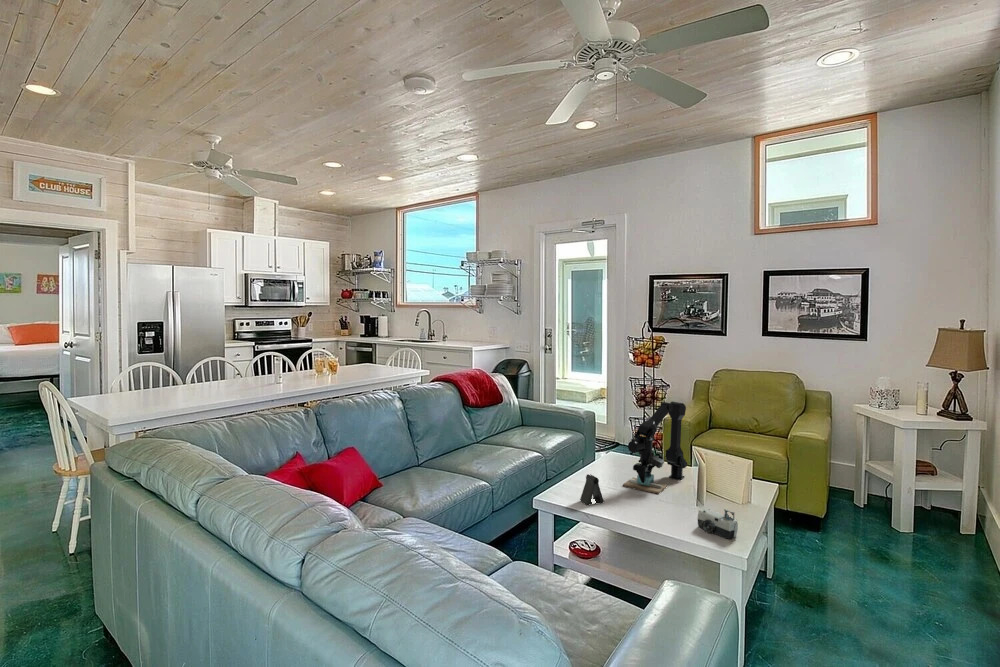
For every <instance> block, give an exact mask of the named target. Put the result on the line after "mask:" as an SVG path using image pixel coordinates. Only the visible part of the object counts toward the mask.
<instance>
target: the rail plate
mask: <svg viewBox="0 0 1000 667" xmlns="http://www.w3.org/2000/svg"><path fill="white" fill-rule="evenodd" d="M624 486H626V487H625V488H628V487H630V488H629V489H633V488H635V489H634V490H637V489H639V490H638V491H641V490H644V491H643V492H646V491H648V492H647V493H650V492H653V493H652V494H655V493H657V494H656V495H660V494H661V493H662V492H664V491H665V490H666V489H667V488H668V487H669V484H665V483H661V482H656V481H654V483H650V486H646V485H641V484H637V477H631V478H629V479H628V480H627V481H626V482H624V483H623V484H622V487H624ZM667 486H668V487H667ZM666 487H667V488H666ZM665 488H666V489H665ZM664 489H665V490H664ZM660 492H661V493H660ZM659 493H660V494H659Z"/></svg>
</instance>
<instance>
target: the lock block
mask: <svg viewBox="0 0 1000 667" xmlns="http://www.w3.org/2000/svg"><path fill="white" fill-rule="evenodd" d="M636 478H637V484H641V485H646V486H650V483H654V482H655V481H654V480H655V474H652V473H651V474H648V473H646V476H645V481H644V483H642V482H641V480H640V478H639V475H638V474H637V477H636Z"/></svg>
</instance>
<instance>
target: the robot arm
mask: <svg viewBox="0 0 1000 667" xmlns="http://www.w3.org/2000/svg"><path fill="white" fill-rule="evenodd" d="M686 410H687V407H686V404H684V403H683V402H678V401H674V400H673V401H670V402H666V401H663V402H661V404H660V406H659V407H658V408H657V409H656V411H655V412H654V413H653V414H652V416H651V417H650V418H649V419H648V420H647V419H646V420H645V421H643V422H641V423H640V424H639V426H638V427H637V429H636V432H635V434H634V437H633V438H631V440H630V441H629V442H628V444H627V449H628V451H629V452H630V454H638V455H639V460H638V462H637V463H635V464H634V465H633V466H632V470H633V471H636V474H637V476H638V475H639V478H640V480H641V482H642V483H644V481H645V476H646V473H648V474H652V470H653V469H654V468H657V469H661V468H663V465H664V463H665V460H666V463H667V465H670V475H669V476H668V478H670V479H674V478H675V479H674V480H678V479H679V481H681V480H683V479H684V478H685V475H684V473H683V470H684V469H686V468H687V466H688V462H687V461H686V459H685V458H684V457H685V456H684V452H683V450H682V447H681V443H682V442H681V441H682V439H681V437H682V420H683V418H684V417H685V416H686ZM667 415H669V417H670V420H671V421H670V422H671V423H670V443H669V445H670V446H669V447H668V448H667V449H666V450H665V456H663V455H659V456H658V455H657V456H656V455H655V452H654V451H653V442H654V441H655V440H656V438H655V437H654V436H655V434H657V431H658V426H659V425H660V423H661V422H662V421H663V420H664V419H665V417H666V416H667ZM664 457H665V459H664Z"/></svg>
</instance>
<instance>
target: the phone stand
mask: <svg viewBox="0 0 1000 667" xmlns="http://www.w3.org/2000/svg"><path fill="white" fill-rule="evenodd" d="M599 481H600V480H599V478H598V477H597V476H594V475H593V474H591V473H590V474H589V473H588V474H586V476H585V483H584V486H583V489H582V492H581V495H580V498H579V501H580V500H581V501H582V502H581V501H580V502H581V503H583V504H584V503H585V504H584V505H586V506H587V505H588V506H590V505H589V504H592V502H591V499H592V498H593V499H595V501H596V503H600V504H604V503H605V501H604V498H603V493H602V491H601V488H600V485H599V483H600V482H599ZM603 502H604V503H603ZM596 503H595V504H594V505H597V504H596Z"/></svg>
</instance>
